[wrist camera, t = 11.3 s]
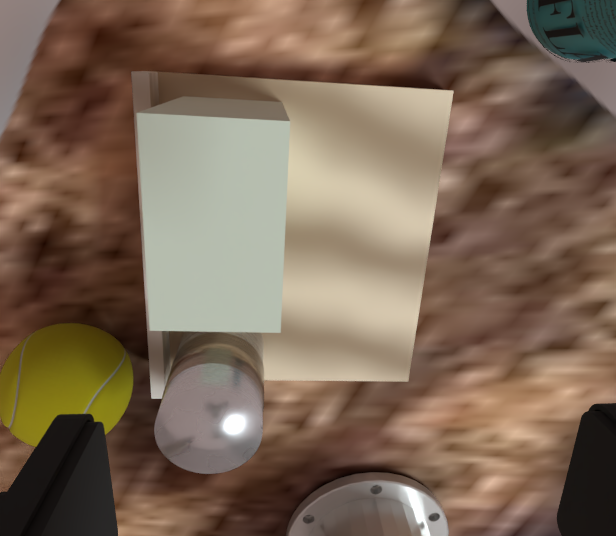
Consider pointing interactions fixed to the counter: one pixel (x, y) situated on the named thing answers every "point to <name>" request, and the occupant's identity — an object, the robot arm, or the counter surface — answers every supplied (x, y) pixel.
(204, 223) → the carton
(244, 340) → the metal tin
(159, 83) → the shelf board
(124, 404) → the tennis ball
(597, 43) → the beverage bottle
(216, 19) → the counter surface
